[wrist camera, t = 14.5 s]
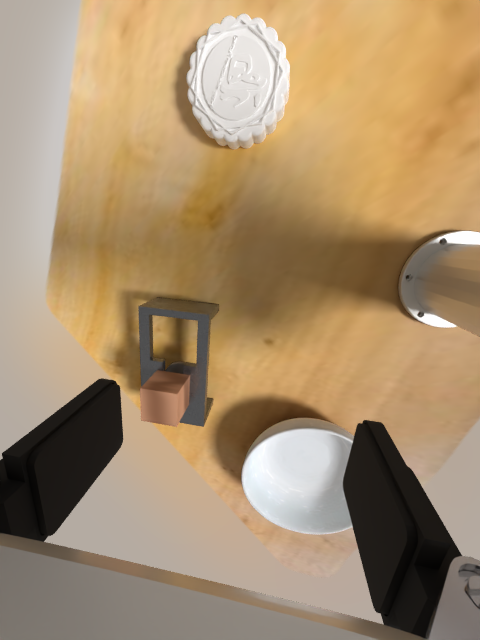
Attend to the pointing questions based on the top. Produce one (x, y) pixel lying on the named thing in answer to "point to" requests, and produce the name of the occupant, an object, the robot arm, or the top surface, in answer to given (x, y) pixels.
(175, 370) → the keyhole peg
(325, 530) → the serving bowl
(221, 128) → the mooncake
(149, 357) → the keyhole bracket
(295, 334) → the top surface
